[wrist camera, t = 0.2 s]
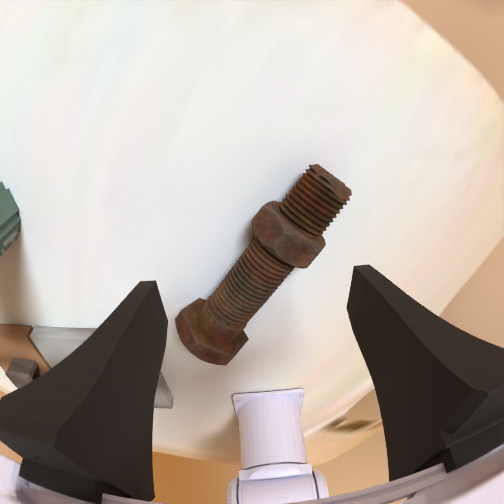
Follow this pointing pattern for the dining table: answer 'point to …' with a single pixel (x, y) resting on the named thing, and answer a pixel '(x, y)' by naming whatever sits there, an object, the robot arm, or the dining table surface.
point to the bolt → (263, 265)
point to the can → (8, 219)
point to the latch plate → (49, 354)
